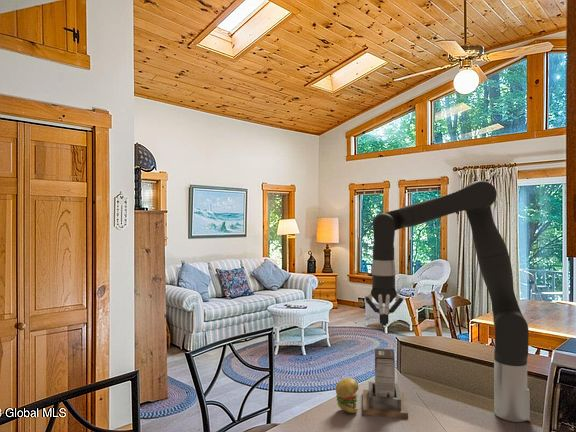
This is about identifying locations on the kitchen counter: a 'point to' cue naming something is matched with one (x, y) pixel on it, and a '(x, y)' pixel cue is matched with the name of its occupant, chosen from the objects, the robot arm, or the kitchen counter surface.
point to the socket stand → (384, 403)
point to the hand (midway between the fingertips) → (383, 325)
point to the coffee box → (384, 373)
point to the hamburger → (347, 394)
